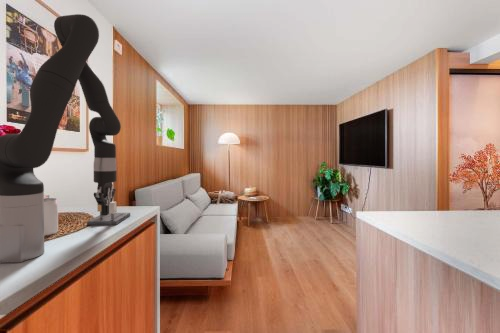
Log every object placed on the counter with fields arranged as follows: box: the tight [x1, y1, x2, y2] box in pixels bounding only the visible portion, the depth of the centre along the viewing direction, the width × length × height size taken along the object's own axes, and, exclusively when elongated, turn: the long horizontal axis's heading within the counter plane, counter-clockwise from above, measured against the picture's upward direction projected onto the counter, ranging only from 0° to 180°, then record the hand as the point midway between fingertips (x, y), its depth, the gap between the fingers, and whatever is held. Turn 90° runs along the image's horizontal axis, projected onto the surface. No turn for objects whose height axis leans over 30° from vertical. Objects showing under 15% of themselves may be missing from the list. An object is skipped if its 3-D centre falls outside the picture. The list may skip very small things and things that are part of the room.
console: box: [86, 212, 131, 226], centre depth 106 cm, size 15×11×2 cm
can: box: [44, 197, 59, 237], centre depth 87 cm, size 6×6×12 cm
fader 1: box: [97, 204, 103, 217], centre depth 105 cm, size 3×2×7 cm
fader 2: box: [109, 201, 118, 219], centre depth 101 cm, size 3×2×7 cm
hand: (105, 214), depth 95 cm, fingers closed
